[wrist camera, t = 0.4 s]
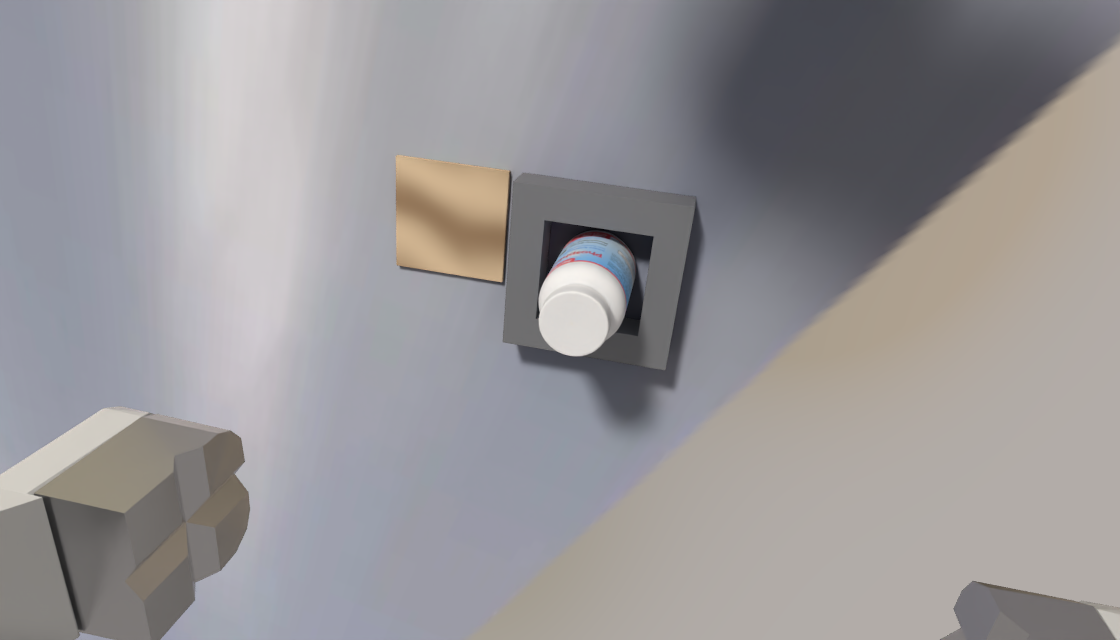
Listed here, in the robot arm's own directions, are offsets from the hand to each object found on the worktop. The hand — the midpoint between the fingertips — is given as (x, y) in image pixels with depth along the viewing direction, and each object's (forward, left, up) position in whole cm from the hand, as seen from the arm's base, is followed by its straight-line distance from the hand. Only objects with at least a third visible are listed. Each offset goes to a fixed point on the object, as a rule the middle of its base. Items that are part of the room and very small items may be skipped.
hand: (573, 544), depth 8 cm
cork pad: (+11, -16, -45) cm, 49 cm away
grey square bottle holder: (+13, -4, -45) cm, 47 cm away
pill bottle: (+13, -4, -45) cm, 47 cm away
